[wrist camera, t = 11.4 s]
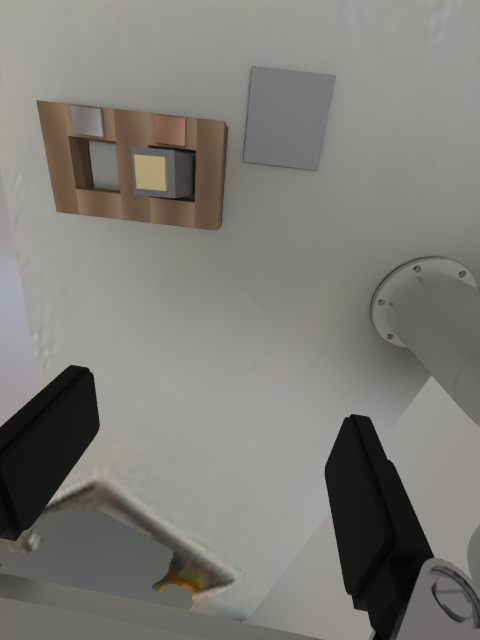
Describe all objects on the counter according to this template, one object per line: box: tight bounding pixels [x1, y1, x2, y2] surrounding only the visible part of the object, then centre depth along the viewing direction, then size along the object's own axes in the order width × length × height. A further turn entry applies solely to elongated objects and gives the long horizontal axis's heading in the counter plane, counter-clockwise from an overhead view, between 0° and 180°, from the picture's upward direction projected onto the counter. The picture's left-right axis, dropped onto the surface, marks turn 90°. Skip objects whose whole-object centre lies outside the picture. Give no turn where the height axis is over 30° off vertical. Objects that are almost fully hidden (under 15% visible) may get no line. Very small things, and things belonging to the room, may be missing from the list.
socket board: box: [36, 100, 228, 230], centre depth 30 cm, size 18×10×4 cm, turn 84°
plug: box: [131, 147, 196, 198], centre depth 27 cm, size 4×4×11 cm
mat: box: [243, 66, 335, 170], centre depth 29 cm, size 8×8×1 cm
